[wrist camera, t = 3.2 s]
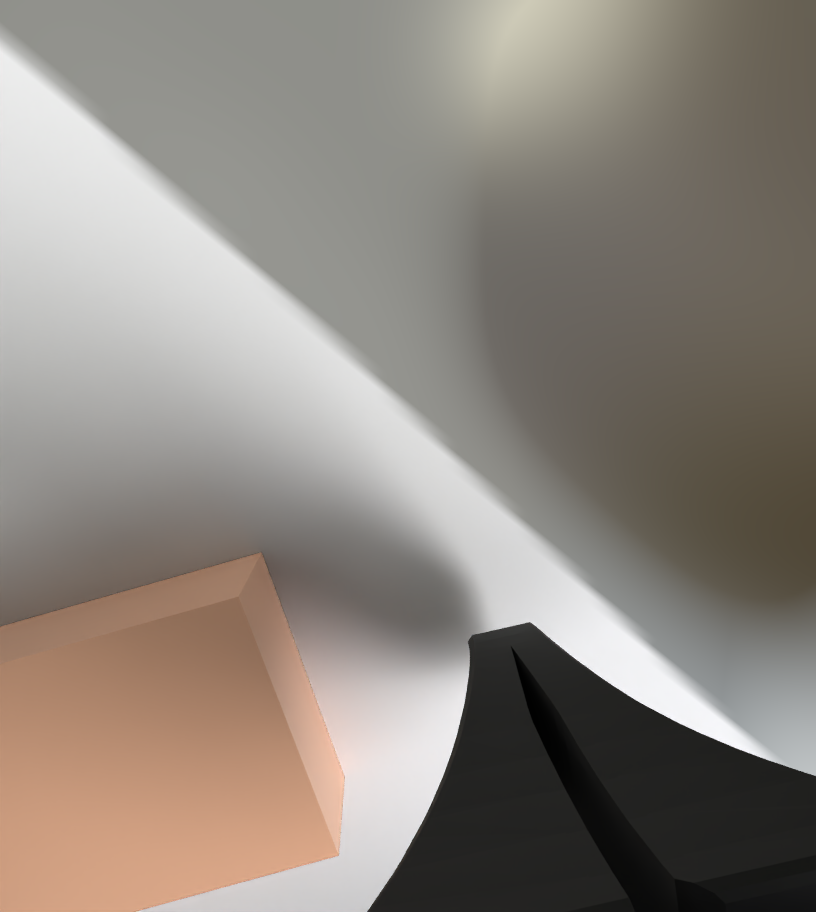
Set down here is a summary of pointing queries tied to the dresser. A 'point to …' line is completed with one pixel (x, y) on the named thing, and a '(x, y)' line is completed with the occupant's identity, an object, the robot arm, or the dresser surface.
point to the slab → (160, 747)
